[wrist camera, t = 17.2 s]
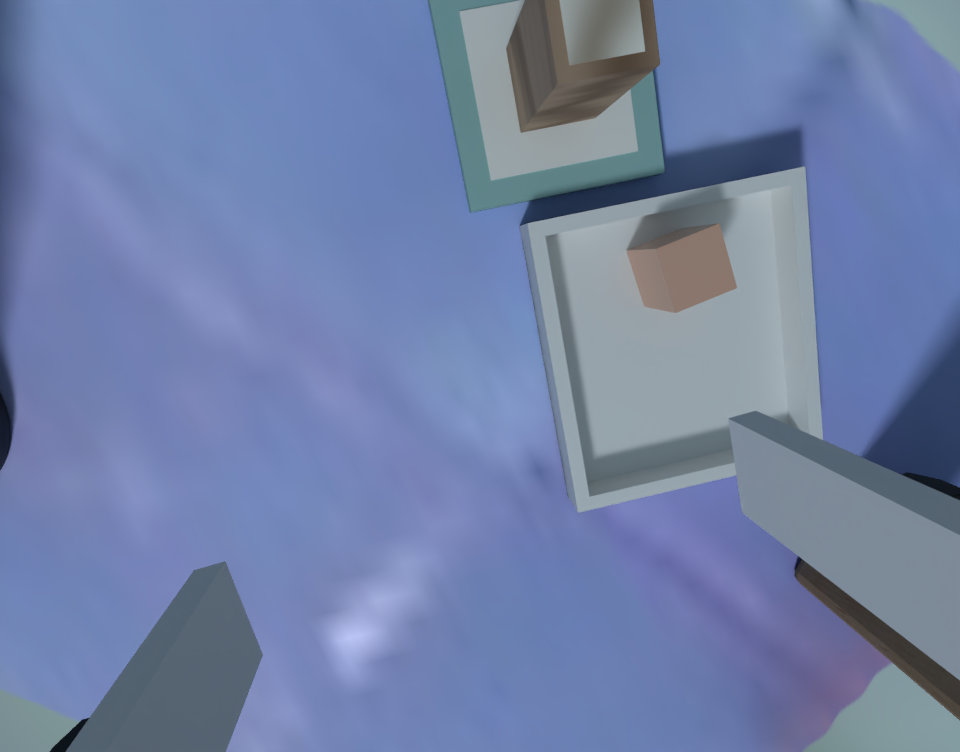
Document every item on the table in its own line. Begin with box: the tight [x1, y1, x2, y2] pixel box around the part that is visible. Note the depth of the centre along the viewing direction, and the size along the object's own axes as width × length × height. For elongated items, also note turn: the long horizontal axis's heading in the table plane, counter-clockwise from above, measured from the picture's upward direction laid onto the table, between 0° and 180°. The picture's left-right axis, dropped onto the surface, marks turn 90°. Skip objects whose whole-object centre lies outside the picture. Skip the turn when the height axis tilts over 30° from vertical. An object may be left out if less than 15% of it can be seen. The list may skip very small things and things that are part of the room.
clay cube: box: [626, 223, 737, 313], centre depth 43 cm, size 5×5×6 cm
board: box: [428, 0, 665, 213], centre depth 43 cm, size 16×16×1 cm
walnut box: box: [506, 0, 660, 133], centre depth 36 cm, size 6×6×12 cm
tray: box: [520, 166, 823, 513], centre depth 47 cm, size 22×24×4 cm
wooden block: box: [795, 559, 960, 720], centre depth 45 cm, size 10×10×20 cm
